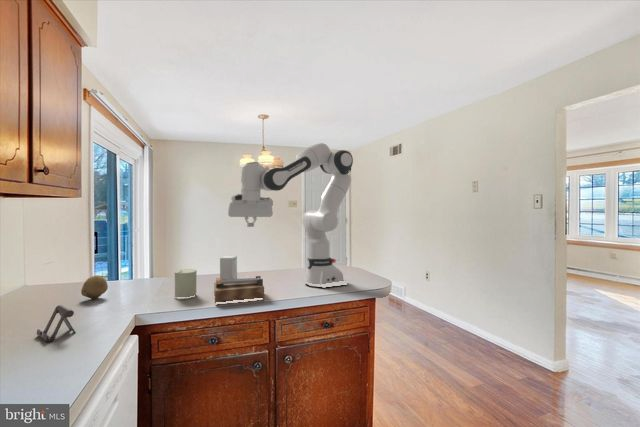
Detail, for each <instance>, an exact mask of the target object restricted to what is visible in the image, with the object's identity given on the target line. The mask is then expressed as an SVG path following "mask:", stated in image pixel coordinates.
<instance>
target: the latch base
mask: <svg viewBox="0 0 640 427" xmlns="http://www.w3.org/2000/svg"><path fill="white" fill-rule="evenodd" d="M258 277H260V279H258V282H252V283H232V284H216V282H214V284H213V286H214V287H213V288H214V289H213V295H214V296H215V298H214V304H215V303H216V302H226V301H233V300H244V299H254V298H264V299H265V286H264V283H263V282H264V280H263V278H261V275H256V276H255V278H258Z"/></svg>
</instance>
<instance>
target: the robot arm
mask: <svg viewBox="0 0 640 427" xmlns="http://www.w3.org/2000/svg"><path fill="white" fill-rule="evenodd" d="M294 160H295V161H292V162H290V163H289V164H287V165H285V166H284V167H274V168H271V169H268V168H266V167H264V166H263V165H262V164H260V163H259V162H258V161H253V162H252V161H251V162H246V163H244V164H243V165H242V168H241V173H240V174H241V176H240V182H241V190H240V193H236V194H234V195H232V196H231V197H230V200H231V201H230V202H229V204H228V210H227V215H228V217H230V218H244V220H245V222H246V226H247V228H250V227H251V228H254V227H255V223H256V221H257V219H258V218H271V217H273V215H274V214H273V205H274V201H273V199H272V198H270V197H269V196H268V197H263V196H262V197H261V191H262V190H263V191H267V192H269V191H274V192H275V191H276V192H278V191H281V190H283V189H284V188H286V186H287V184H288V183H289V182H290V181H291V180H292V179H294V178H295V177H297V176H298V175H300V174H302V173H306V172H310V171H312V170H315V169H316V168H318V167H320V170H321V171H322V172H324V173H325V174H329V175H331V177H330V180H329V181H328V184H327V185H326V187H325V189H324V190H323V192H322V194H321V196H320V200H321V202H320V204H319V205H320V206H319V208H318V209H310V210H308V211H306V212H305V213H304V214H303V215H302V218H301V222H302V225H303V226H304V229H305V233H306V236H307V242H308V243H307V244H308V248H307V251H308V253H307V254H308V256H307V258H306V259H307V262H306V266H307V271H306V272H307V273H306V278H305V282H308V283H312V284H320V285H321V284H326V283H332V282H339V281H344V280H345V279H344V274H343V272H342V271H341V270H340V269H339V268H338V267H336V266H335V265H334V264H335V263H336V262H337V260H336V258H332V257H330V242H329V240H328V238H327V234H326V233H328V232H332V231H334V230H336V229H337V227H338V225H339V218H338V212H339V208H340V206H341V204H342V203H343V200H344V198H345V196H346V195H347V193H348V190H349V188H350V185H351V182H352V177H351V176H350V173H351V171H352V166H353V162H354V158H353V155H352V153H351V152H349V151H348V150H344V149H342V150H337V151H333V152H332V151H331V150H330V147H329V146H328V145H327V144H325V143H322V142H320V143H317V144H316V143H315V144H313V145H311V146H308V147H306V148H304V149H303V150H301V151H300V152H298V153H297V154H296V156H295V159H294ZM249 218H252V219H253V220H252V222H249Z"/></svg>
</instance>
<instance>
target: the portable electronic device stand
mask: <svg viewBox="0 0 640 427" xmlns="http://www.w3.org/2000/svg"><path fill="white" fill-rule="evenodd" d="M57 314H59V316H60V319H59V320H58V322H57V324H56V327H55V329H54V331H53V333H52V335H49V334H48V332H49V331H50V330H49V329H50V328H51V326H52V324H53V321H54V320H55V318H56V315H57ZM74 314H75V312H74V310H72V309H70V308H68V307H67V306H64V305H63V304H59V305H57V306H56V307H55V308H54V311H53V313H52V315H51V317H50V318H49V320H48V322H47V324H46V326H45V327H44V328H45V329H43V331H42V330H40V329H39V328H38V329H36V335H37V336H38V337H39V338H41V339H42V341H45V342H46V343H48V344H50V343H53V342H54V340H55V339H56V337H57V334H58V332H59V330H60V328H61V326H62V324H63V322H64V324H65V326H66V327H67V329H68V330H69V331H70V332H72V333H73V334H76V331H75V329H74V328H73V326H72V324H71V322H70V321H69V319H68V318H71V317H73V316H74Z"/></svg>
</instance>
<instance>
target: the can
mask: <svg viewBox="0 0 640 427" xmlns="http://www.w3.org/2000/svg"><path fill="white" fill-rule="evenodd" d="M197 271H198V270H197V269H194V268H182V269H177V270H175V271H174V297H190V296H194V295H196V293H197Z"/></svg>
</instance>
